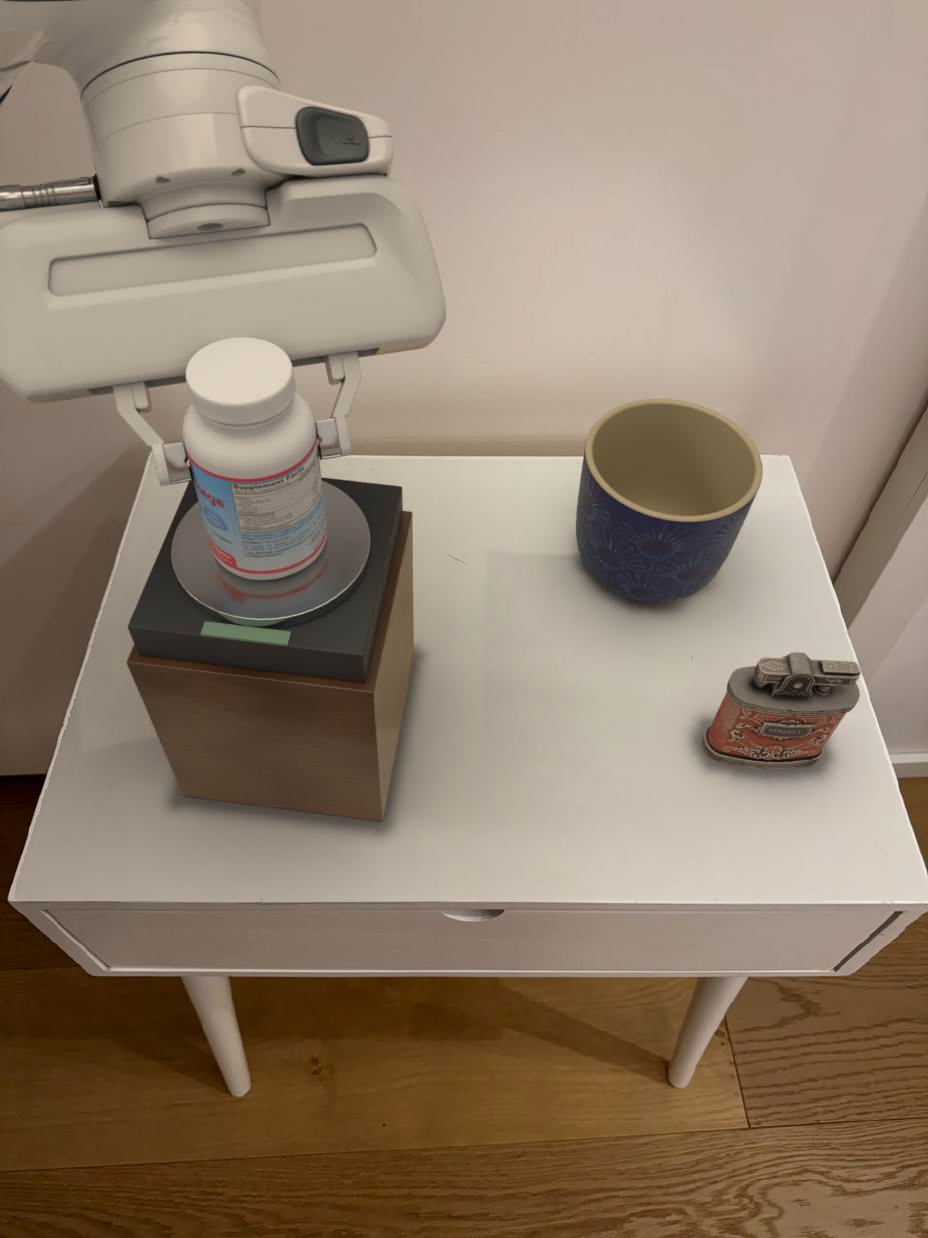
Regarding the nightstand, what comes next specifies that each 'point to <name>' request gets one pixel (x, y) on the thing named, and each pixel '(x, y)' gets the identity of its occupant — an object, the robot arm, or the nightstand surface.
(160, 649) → the kitchen scale
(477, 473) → the nightstand surface
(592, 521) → the planter
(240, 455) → the pill bottle
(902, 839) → the nightstand surface
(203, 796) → the walnut riser
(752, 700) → the lighter
